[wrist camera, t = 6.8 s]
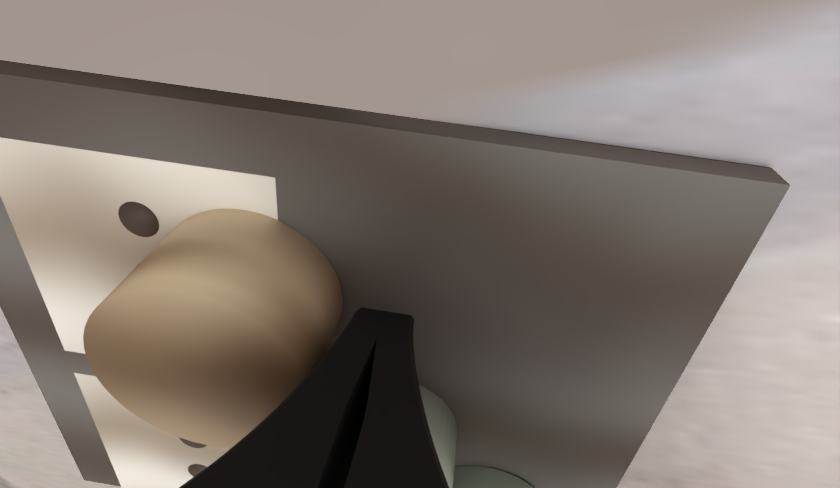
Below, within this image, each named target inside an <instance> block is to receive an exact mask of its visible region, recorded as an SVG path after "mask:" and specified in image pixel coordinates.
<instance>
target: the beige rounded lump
mask: <svg viewBox="0 0 840 488" xmlns="http://www.w3.org/2000/svg"><path fill="white" fill-rule="evenodd" d="M342 309H343V295H342V289H341V285H340V282H339V279H338V277H337V275H336V273H335V271H334V269H333V267H332V265H331V264H330V262H329V261H328V259H327V258H326V257H325V256H324V254H323V253H322V252H321V251H320V250H319V248H317V247H316V246H315V245H314V244H313V243H312V242H311V241H310V240H309V239H308V238H306V237H305V236H304V235H302V234H301V233H300V232H298V231H297V230H295V229H293V228H292V227H290V226H288V225H287V224H285V223H283V222H281V221H279V220H276V219H274V218H272V217H269V216H266V215H263V214H260V213H256V212H252V211H247V210H240V209H215V210H208V211H205V212H201V213H198V214H195V215H193V216H191V217H189V218H187V219H185V220H184V221H182V222H181V223H180V224H179V225H177V226H176V227H175V228H174V229H173V230H172V231H171V232H170V233H169V234H168V235H167V236H166V237H165V238H164V239H163V240H162V241H161V242H160V243H159V244H158V245H157V246H156V247H155V248H154V249H153V250H152V252H151V253H150V254H149V255H148V256H147V257H146V258H145V259H144V260H143V261H142V262H141V263H140V264H139V265H138V266H137V267H136V268H135V269H134V270H133V271H132V272H131V273H130V274H129V275H128V276H127V277H126V278H125V279H124V280H123V281H122V282H121V283H120V284H119V285H118V286H117V287H116V288H115V289H114V290H113V291H112V292H111V293H110V294H109V295H108V296H107V297H106V298H105V299H104V300H103V301H102V302H101V303H100V304H99V305H98V306H97V307H96V308H95V309H94V311H93V312H92V313H91V315H90V316H89V318H88V320H87V322H86V325H85V328H84V335H83V342H84V350H85V354H86V357H87V360H88V362H89V365H90V367H91V369H92V370H93V372H94V374H95V376H96V377H97V379H98V380H99V381H100V383H101V384H102V385H103V387H104V388H105V389H106V390H107V391H108V392H109V393H110V394H111V395H112V396H113V397H114V398H115V399H116V400H117V401H118V402H119V403H120V404H121V405H123V406H124V407H125V408H127V409H128V410H129V411H130V412H132V413H133V414H135V415H136V416H138V417H139V418H141V419H142V420H144V421H146V422H147V423H149V424H151V425H153V426H155V427H156V428H159V429H161V430H163V431H165V432H167V433H169V434H172V435H174V436H177V437H180V438H182V439H186V440H189V441H192V442H196V443H200V444H204V445H209V446H215V447H224V448H232V447H233V446H234V445H236V444H237V443H238V442H239V441H240V440H241V439H243V438H244V437H245V436H246V435H247V434H249V433H250V432H251V431H252V430H253V429H254V428H255V427H257V426H258V425H259V424H260V423H261V422H262V421H263V420H264V419H265V418H266V417H267V416H269V415H270V414H271V413H272V412H273V411H274V410H275V409H276V408H277V407H278V406H279V405H280V404H281V403H282V402H283V401H284V400H285V399H286V398H287V397H288V396H289V395H290V394H291V393H292V391H293V390H294V389H295V388H296V387H297V386H298V385H299V384H300V383H301V382H302V381H303V380H304V379H305V377H306V376H307V375H308V374H309V373H310V372H311V371H312V370H313V368H314V367H315V366H316V365H317V364H318V362H319V361H320V360H321V359H322V358H323V356H324V355H325V354H326V353H327V352H328V350H329V348H330V345H331V343H332V340H333V337H334V334H335V332H336V329H337V326H338V323H339V321H340V318H341V315H342Z"/></svg>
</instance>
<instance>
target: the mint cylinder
mask: <svg viewBox="0 0 840 488" xmlns="http://www.w3.org/2000/svg"><path fill="white" fill-rule="evenodd" d="M419 387H420V393H421V397H422V402H423V406H424V410H425V414H426V418H427V422H428V426H429V429H430V433H431V436H432V439H433V443H434V446H435V449H436V452H437V455H438V458H439V461H440V464H441V467H442V469H443V472H444V475H445V478H446V480H447V483H448V486H449V488H453V482H454V467H455V453H456V439H457V424H456V420H455V417H454V415H453V413H452V411H451V410H450V408H449V407H448V406H447V404H446V403H445V402H444V401H443V400H442V399H441V398H439V397H438V396H437V395H436V394H434V393H433V392H431V391H430V390H428V389H427V388H425V387H423V386H421V385H419Z"/></svg>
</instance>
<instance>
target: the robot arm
mask: <svg viewBox="0 0 840 488" xmlns="http://www.w3.org/2000/svg"><path fill="white" fill-rule="evenodd" d="M413 327H414V318H413V317H412V316H411V315H407V314H401V313H394V312H388V311H382V310H375V309H369V308H362V307H361V308H359V309H358V310H356V312H355V314H354V315H353V317H352V319H351V320H350V322H349V323H348V325H347V326H346V328H345V329H344V330H343V332H342V333H341V335H340V336H339V337H338V339H337V340H336V341H335V343H334V344H333V345H332V347H331V348H330V349H329V350H328V352H327V353H326V354H325V355H324V356H323V358H322V359H321V360H320V361H319V362H318V364H317V365H316V366H315V367H314V368H313V370H312V371H311V372H310V373H309V374H308V375H307V376H306V377H305V379H304V380H303V381H302V382H301V383H300V384H299V385H298V386H297V387H296V388H295V389H294V390H293V391H292V393H291V394H290V395H289V396H288V397H287V398H286V399H285V400H284V401H283V402H282V403H281V404H280V405H279V406H278V407H277V408H276V409H275V410H274V411H273V412H272V413H271V414H270V415H269V416H267V417H266V418H265V419H264V420H263V421H262V422H261V423H260V424H259V425H258V426H257V427H255V428H254V429H253V430H252V431H251V432H250V433H249V434H247V435H246V436H245V437H244V438H243V439H241V440H240V441H239V442H238V443H237V444H236V445H234V446H233V447H232V448H231V449H230V450H228V451H227V452H226V453H225V454H223V455H222V456H221V457H220V458H218V459H217V460H216V461H215V462H213V463H212V464H211V465H209V466H208V467H207V468H205V469H204V470H203V471H201V472H200V473H198V474H197V475H196V476H194V477H193V478H192V479H190V480H189V481H187V482H186V483H185V484H183V485H182V486H181V487H179V488H449V486H448V483H447V480H446V478H445V475H444V472H443V469H442V467H441V464H440V461H439V458H438V455H437V452H436V449H435V446H434V443H433V439H432V436H431V433H430V429H429V426H428V422H427V418H426V414H425V410H424V406H423V402H422V397H421V393H420V387H419V382H418V377H417V371H416V364H415V356H414V344H413Z"/></svg>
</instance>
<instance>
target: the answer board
mask: <svg viewBox="0 0 840 488" xmlns="http://www.w3.org/2000/svg"><path fill="white" fill-rule="evenodd" d="M789 187H790V185H789V184H788V183H787V182H786V181H785V180H784V179H783V178H782V177H781V176H780V175H778V174H777V173H776V172H775V171H774V170H773V169H772V168H767V167H760V166H753V165H746V164H738V163H731V162H724V161H717V160H710V159H703V158H695V157H688V156H681V155H674V154H667V153H660V152H653V151H645V150H638V149H631V148H624V147H617V146H610V145H603V144H595V143H588V142H581V141H574V140H567V139H560V138H552V137H545V136H538V135H531V134H524V133H517V132H510V131H502V130H495V129H488V128H481V127H474V126H467V125H460V124H452V123H445V122H438V121H431V120H424V119H417V118H410V117H402V116H395V115H388V114H381V113H374V112H367V111H359V110H352V109H345V108H338V107H331V106H324V105H316V104H309V103H302V102H295V101H288V100H281V99H274V98H267V97H258V96H252V95H245V94H238V93H231V92H224V91H216V90H209V89H202V88H194V87H187V86H180V85H174V84H166V83H159V82H152V81H144V80H138V79H130V78H123V77H115V76H109V75H102V74H95V73H88V72H81V71H73V70H66V69H59V68H51V67H45V66H38V65H30V64H23V63H16V62H9V61H2V60H0V307H1V309H2V311H3V313H4V315H5V317H6V319H7V321H8V323H9V325H10V327H11V329H12V332H13V334H14V336H15V338H16V340H17V342H18V344H19V346H20V348H21V350H22V352H23V354H24V356H25V358H26V361H27V363H28V365H29V367H30V369H31V371H32V373H33V375H34V377H35V379H36V381H37V383H38V385H39V387H40V390H41V392H42V394H43V396H44V398H45V400H46V402H47V404H48V406H49V408H50V410H51V412H52V414H53V416H54V419H55V421H56V423H57V425H58V427H59V429H60V431H61V433H62V435H63V437H64V439H65V441H66V443H67V445H68V448H69V450H70V452H71V454H72V456H73V458H74V460H75V462H76V464H77V466H78V468H79V470H80V472H81V474H82V477H83V479H84V480H87V481H93V482H99V483H104V484H110V485H116V486H121V487H122V488H179V487H181V486H182V485H183V484H185V483H186V482H187V481H189V480H190V479H192V478H193V477H194V476H196V475H197V474H198V473H200V472H201V471H203V470H204V469H205V468H207V467H208V466H209V465H211V464H212V463H213V462H215V461H216V460H217V459H218V458H220V457H221V456H222V455H223V454H225V453H226V452H227V451H228V450H230V449H231V448H224V447H215V446H209V445H204V444H200V443H196V442H192V441H189V440H186V439H182V438H180V437H177V436H174V435H172V434H169V433H167V432H165V431H163V430H161V429H159V428H156V427H155V426H153V425H151V424H149V423H147V422H146V421H144V420H142V419H141V418H139V417H138V416H136V415H135V414H133V413H132V412H130V411H129V410H128V409H127V408H125V407H124V406H123V405H121V404H120V403H119V402H118V401H117V400H116V399H115V398H114V397H113V396H112V395H111V394H110V393H109V392H108V391H107V390H106V389H105V388H104V387H103V385H102V384H101V383H100V381H99V380H98V379H97V377H96V376H95V374H94V372H93V370H92V369H91V367H90V365H89V362H88V360H87V357H86V354H85V350H84V342H83V335H84V328H85V325H86V322H87V320H88V318H89V316H90V315H91V313H92V312H93V311H94V309H95V308H96V307H97V306H98V305H99V304H100V303H101V302H102V301H103V300H104V299H105V298H106V297H107V296H108V295H109V294H110V293H111V292H112V291H113V290H114V289H115V288H116V287H117V286H118V285H119V284H120V283H121V282H122V281H123V280H124V279H125V278H126V277H127V276H128V275H129V274H130V273H131V272H132V271H133V270H134V269H135V268H136V267H137V266H138V265H139V264H140V263H141V262H142V261H143V260H144V259H145V258H146V257H147V256H148V255H149V254H150V253H151V252H152V250H153V249H154V248H155V247H156V246H157V245H158V244H159V243H160V242H161V241H162V240H163V239H164V238H165V237H166V236H167V235H168V234H169V233H170V232H171V231H172V230H173V229H174V228H175V227H176V226H177V225H179V224H180V223H181V222H182V221H184V220H185V219H187V218H189V217H191V216H193V215H195V214H198V213H201V212H205V211H208V210H215V209H240V210H247V211H252V212H256V213H260V214H263V215H266V216H269V217H272V218H274V219H276V220H279V221H281V222H283V223H285V224H287V225H288V226H290V227H292V228H293V229H295V230H297V231H298V232H300V233H301V234H302V235H304V236H305V237H306V238H308V239H309V240H310V241H311V242H312V243H313V244H314V245H315V246H316V247H317V248H319V250H320V251H321V252H322V253H323V254H324V256H325V257H326V258H327V259H328V261H329V262H330V264H331V265H332V267H333V269H334V271H335V273H336V275H337V277H338V279H339V282H340V285H341V289H342V295H343V309H342V315H341V318H340V321H339V323H338V326H337V329H336V332H335V334H334V337H333V340H332V343H331V345H330V348H331V347H332V345H333V344H334V343H335V341H336V340H337V339H338V337H339V336H340V335H341V333H342V332H343V330H344V329H345V328H346V326H347V325H348V323H349V322H350V320H351V319H352V317H353V315H354V314H355V312H356V310H358V309H359V308H361V307H362V308H369V309H375V310H382V311H388V312H394V313H401V314H407V315H411V316H412V317H413V318H414V327H413V344H414V356H415V364H416V371H417V377H418V382H419V385H421V386H423V387H425V388H427V389H428V390H430V391H431V392H433V393H434V394H436V395H437V396H438V397H439V398H441V399H442V400H443V401H444V402H445V403H446V404H447V406H448V407H449V408H450V410H451V411H452V413H453V415H454V417H455V420H456V424H457V439H456V453H455V467H457V466H480V467H488V468H492V469H497V470H500V471H504V472H506V473H509V474H512V475H514V476H516V477H518V478H520V479H522V480H523V481H525V482H526V483H528V484H529V485H530V486H532V487H533V488H616V487H617V486H618V484H619V482H620V480H621V479H622V477H623V475H624V473H625V472H626V470H627V468H628V467H629V465H630V463H631V461H632V460H633V458H634V456H635V454H636V453H637V451H638V449H639V447H640V446H641V444H642V442H643V440H644V439H645V437H646V435H647V433H648V432H649V430H650V428H651V427H652V425H653V423H654V421H655V420H656V418H657V416H658V414H659V413H660V411H661V409H662V407H663V406H664V404H665V402H666V400H667V399H668V397H669V395H670V394H671V392H672V390H673V388H674V387H675V385H676V383H677V381H678V380H679V378H680V376H681V374H682V373H683V371H684V369H685V367H686V366H687V364H688V362H689V361H690V359H691V357H692V355H693V354H694V352H695V350H696V348H697V347H698V345H699V343H700V341H701V340H702V338H703V336H704V334H705V333H706V331H707V329H708V327H709V326H710V324H711V322H712V321H713V319H714V317H715V315H716V314H717V312H718V310H719V308H720V307H721V305H722V303H723V301H724V300H725V298H726V296H727V294H728V293H729V291H730V289H731V288H732V286H733V284H734V282H735V281H736V279H737V277H738V275H739V274H740V272H741V270H742V268H743V267H744V265H745V263H746V261H747V260H748V258H749V256H750V254H751V253H752V251H753V249H754V248H755V246H756V244H757V242H758V241H759V239H760V237H761V235H762V234H763V232H764V230H765V228H766V227H767V225H768V223H769V221H770V220H771V218H772V216H773V215H774V213H775V211H776V209H777V208H778V206H779V204H780V202H781V201H782V199H783V197H784V195H785V194H786V192H787V190H788V188H789ZM330 348H329V349H330Z"/></svg>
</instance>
